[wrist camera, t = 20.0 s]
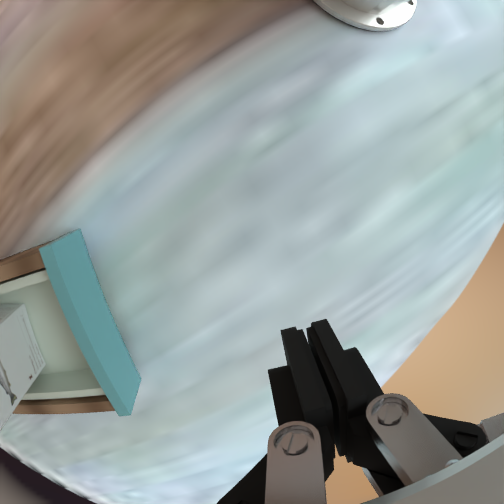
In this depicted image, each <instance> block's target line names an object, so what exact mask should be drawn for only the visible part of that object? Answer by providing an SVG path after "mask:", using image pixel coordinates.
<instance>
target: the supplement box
mask: <svg viewBox="0 0 504 504" xmlns="http://www.w3.org/2000/svg"><path fill="white" fill-rule="evenodd" d="M45 366H46V363H45V361H44V359H43V357H42V354H41V352H40V349H39V347H38V344H37V342H36V339H35V336H34V333H33V330H32V327H31V324H30V321H29V317H28V314H27V310H26V307H25V304H24V303H9V304H0V431H1V430H2V428H3V427H4V425H5V423H6V422H7V420H8V419H9V417H10V416H11V414H12V413H13V411H14V410H15V408H16V407H17V405H18V404H19V402H20V401H21V399H22V398H23V396H24V395H25V394H26V392H27V391H28V389H29V388H30V386H31V385H32V384H33V382H34V381H35V379H36V378H37V377H38V375H39V374H40V372H41V371H42V370H43V368H44V367H45Z"/></svg>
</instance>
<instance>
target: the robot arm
mask: <svg viewBox="0 0 504 504" xmlns="http://www.w3.org/2000/svg"><path fill="white" fill-rule="evenodd" d="M313 1H314V2H316V3H317V4H318V5H319V6H320V7H321V8H322V9H324V10H325V11H326V12H328V13H329V14H331V15H332V16H334V17H335V18H337V19H339V20H341V21H343V22H345V23H347V24H350V25H352V26H355V27H358V28H361V29H366V30H370V31H389V30H393V29H396V28H399V27H400V26H402V25H403V24H405V23H407V22H408V21H409V20H410V19H411V18H412V16H413V14H414V12H415V9H416V0H313ZM306 329H307V337H308V342H307V339H306V337H305V335H304V332H303V330H302V329H300V330H297V329H296V327H292V328H288V329H284V330H281V335H282V340H283V345H284V350H285V355H286V360H287V366H282V367H278V368H274V369H269V370H268V374H269V379H270V384H271V389H272V395H273V400H274V405H275V410H276V415H277V420H278V425H279V427H277V428H276V429H275V430H274V431H273V432H272V433H271V435H270V436H269V440H268V451H267V454H266V455H265V456H264V457H263V458H262V459H261V460H260V461H259V462H258V463H257V464H256V466H255V467H254V468H253V469H252V470H251V471H250V472H249V473H248V474H247V475H246V476H245V477H244V478H243V479H242V480H240V481H239V482H238V483H237V484H236V485H235V486H234V487H233V488H232V489H231V490H230V491H229V492H228V493H227V494H226V495H225V496H224V497H222V498H221V499H220V500H219V501H218V503H217V504H327V502H326V490H325V481H326V480H327V478H328V477H329V476H330V475H331V473H332V472H333V470H334V462H333V459H334V458H335V445H336V448H337V451H338V454H339V456H344V455H345V457H346V459H347V462H348V463H349V462H353V464H354V465H357V466H360V467H362V469H363V472H364V474H365V475H366V477H367V478H368V480H369V482H370V483H371V485H372V486H373V488H374V489H375V491H376V493H377V494H378V496H379V497H378V498H376V499H373V500H370V501H367V502H364V503H361V504H504V413H501V414H499V415H496V416H493V417H490V418H488V419H484V420H482V421H481V423H480V424H478V425H476V424H472V423H469V422H463V421H457V420H452V419H446V418H442V417H436V416H432V415H427V414H423V413H422V412H421V411H420V410H419V409H418V408H417V407H416V406H415V405H414V404H413V403H412V402H411V401H410V400H409V399H408V398H407V397H405V396H403V395H400V394H393V393H390V394H384V393H383V392H382V390H381V388H380V386H379V384H378V383H377V381H376V379H375V378H374V376H373V374H372V373H371V371H370V369H369V368H368V366H367V364H366V363H365V361H364V359H363V358H362V356H361V354H360V353H359V351H358V350H357V348H355V347H354V348H350V349H347V350H343V348H342V346H341V344H340V343H339V341H338V339H337V337H336V335H335V333H334V332H333V330H332V328H331V326H330V324H329V323H328V321H327V319H324V320H320V321H316V322H312V323H311V327H308V328H306Z"/></svg>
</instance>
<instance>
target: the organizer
mask: <svg viewBox="0 0 504 504" xmlns="http://www.w3.org/2000/svg"><path fill="white" fill-rule="evenodd" d="M53 241H54V240H53ZM50 242H52V241H50ZM50 242H48V243H50ZM48 243H45V244H42V245H39V246H37V247H34V248H31V249H28V250H26V251H23V252H20V253H18V254H15V255H12V256H10V257H7V258H5V259H2V260H0V282H2V281H5V280H8V279H11V278H14V277H17V276H20V275H23V274H26V273H29V272H32V271H35V270H38V269H41V268H45V265H44V263H43V260H42V257H41V254H40V251H39V248H41V247H43V246H45V245H46V244H48ZM105 411H115V409H114V408H113V406H112V404H111V403H110V401H109V399H108V398H107V396H106V395H98V396H87V397H74V398H58V399H35V400H21V401H20V402H19V404H18V405H17V407H16V408H15V410H14V411H13V413H12V414H70V413H90V412H105Z"/></svg>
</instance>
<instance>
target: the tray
mask: <svg viewBox="0 0 504 504" xmlns="http://www.w3.org/2000/svg"><path fill="white" fill-rule="evenodd" d="M39 251H40V254H41V257H42V260H43V263H44V265H45V268H41V269H38V270H35V271H32V272H29V273H26V274H23V275H20V276H17V277H14V278H11V279H8V280H5V281H2V282H0V304H9V303H24V304H25V307H26V310H27V314H28V317H29V321H30V324H31V327H32V330H33V333H34V336H35V339H36V342H37V344H38V347H39V349H40V352H41V354H42V357H43V359H44V361H45V363H46V366H45V367H44V368H43V370H42V371H41V372H40V374H39V375H38V377H37V378H36V379H35V381H34V382H33V384H32V385H31V386H30V388H29V389H28V391H27V392H26V394H25V395H24V396H23V398H22V399H21V400H35V399H58V398H74V397H87V396H98V395H106V396H107V398H108V399H109V401H110V403H111V404H112V406H113V408H114V409H115V411H116V412H117V414H118V415H119V416H128V415H131V413H132V409H133V406H134V402H135V399H136V395H137V392H138V389H139V385H140V382H141V377H140V375H139V373H138V371H137V369H136V367H135V365H134V363H133V361H132V359H131V357H130V355H129V353H128V351H127V349H126V346H125V344H124V342H123V340H122V338H121V336H120V333H119V331H118V329H117V326H116V324H115V322H114V319H113V317H112V315H111V312H110V310H109V308H108V305H107V303H106V300H105V298H104V295H103V293H102V290H101V287H100V285H99V282H98V279H97V277H96V274H95V271H94V268H93V266H92V263H91V260H90V257H89V254H88V251H87V248H86V245H85V242H84V239H83V236H82V233H81V229H78V230H75V231H72V232H69V233H67V234H65V235H63V236H61V237H59V238H58V239H56V240H54V241H52V242H50V243H48V244H46V245H45V246H43V247H41V248H39Z"/></svg>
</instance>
